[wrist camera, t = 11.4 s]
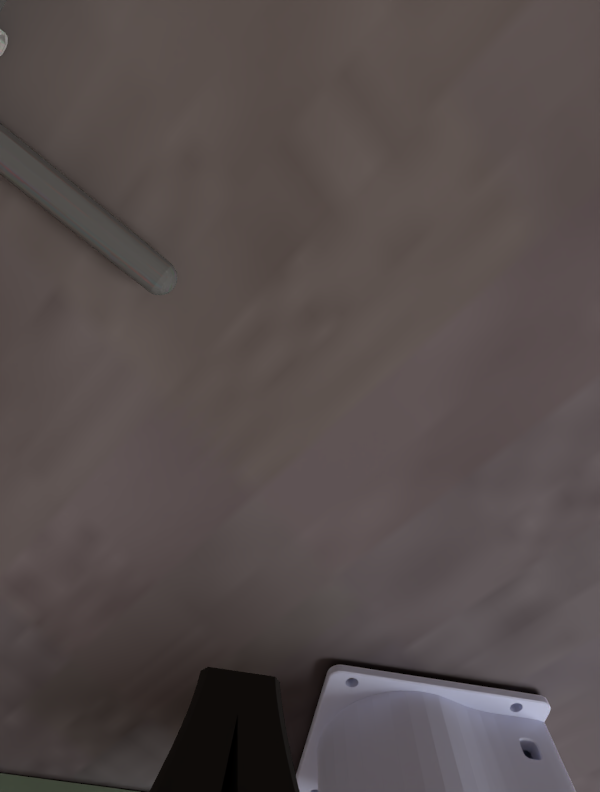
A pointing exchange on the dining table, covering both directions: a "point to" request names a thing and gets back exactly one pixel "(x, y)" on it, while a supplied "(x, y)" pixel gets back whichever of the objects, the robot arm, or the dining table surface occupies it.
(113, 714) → the dining table surface
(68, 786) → the board
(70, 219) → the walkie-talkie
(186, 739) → the robot arm
